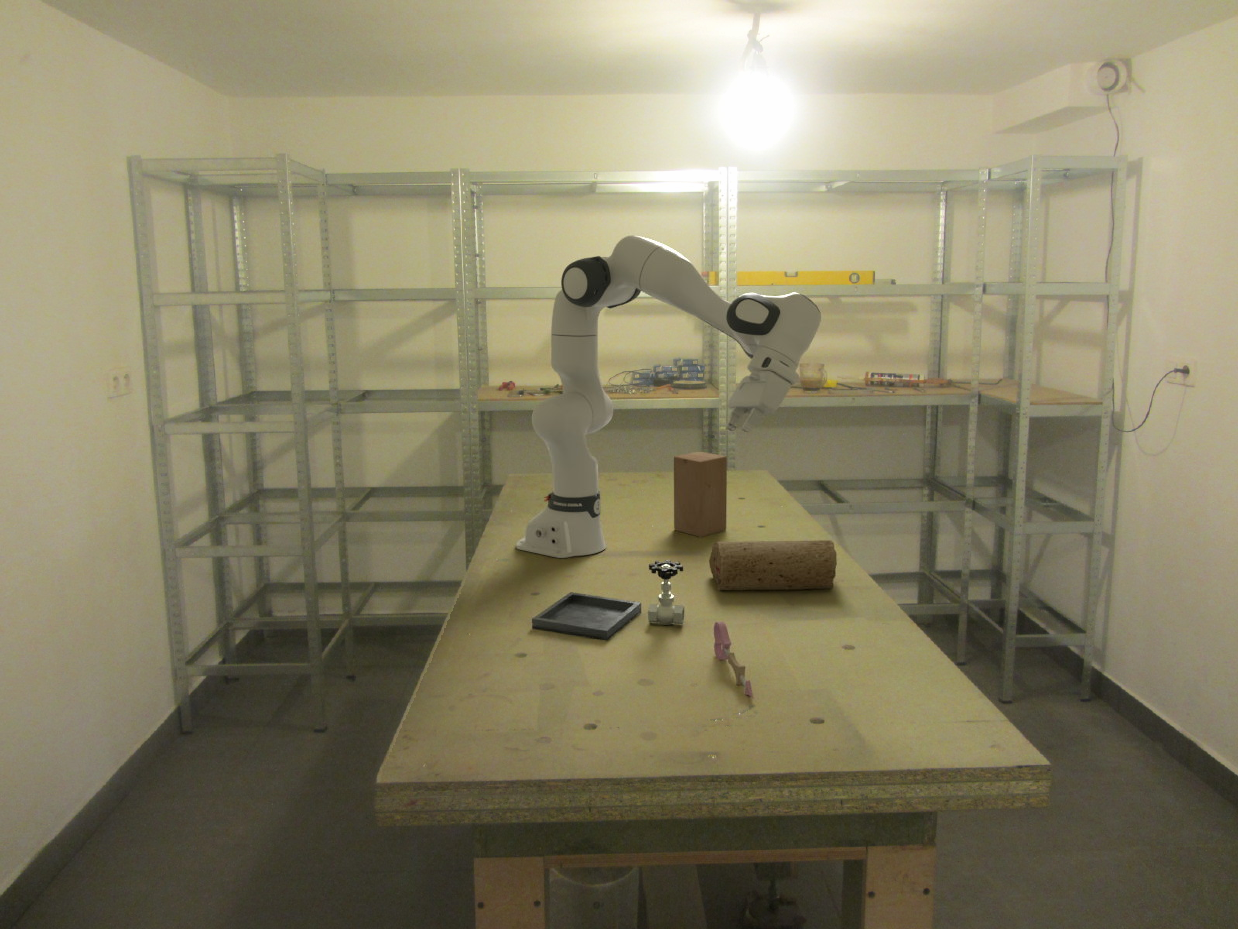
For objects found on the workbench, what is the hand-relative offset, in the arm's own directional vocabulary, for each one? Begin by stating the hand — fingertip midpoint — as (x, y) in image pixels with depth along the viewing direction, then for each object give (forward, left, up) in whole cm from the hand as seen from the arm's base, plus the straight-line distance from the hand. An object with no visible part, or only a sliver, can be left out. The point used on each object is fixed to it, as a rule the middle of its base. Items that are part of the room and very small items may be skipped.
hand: (737, 430), depth 181 cm
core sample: (+5, +12, -36) cm, 38 cm away
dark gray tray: (-23, -22, -36) cm, 48 cm away
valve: (-8, -18, -36) cm, 41 cm away
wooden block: (-24, +46, -36) cm, 63 cm away
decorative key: (+11, -35, -36) cm, 51 cm away
